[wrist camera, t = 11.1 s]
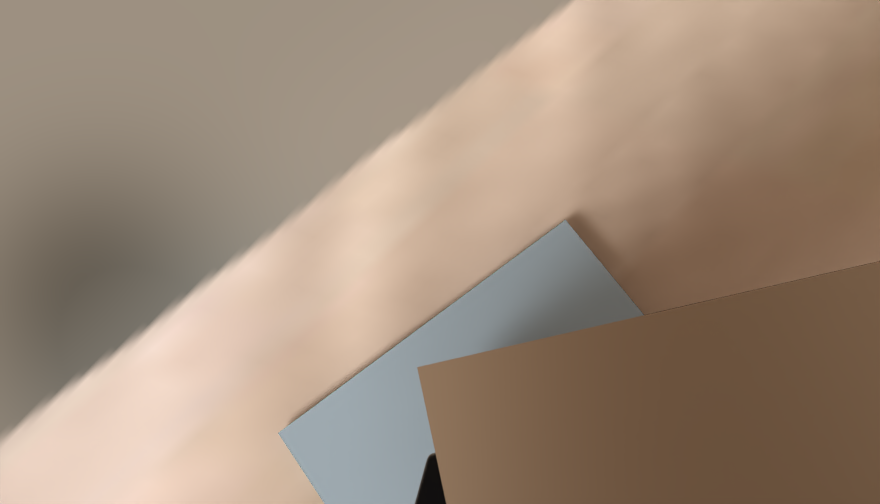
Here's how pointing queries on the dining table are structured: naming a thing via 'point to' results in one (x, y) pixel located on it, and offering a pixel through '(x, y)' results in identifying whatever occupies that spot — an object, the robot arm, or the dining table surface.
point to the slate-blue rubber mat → (444, 338)
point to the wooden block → (675, 405)
